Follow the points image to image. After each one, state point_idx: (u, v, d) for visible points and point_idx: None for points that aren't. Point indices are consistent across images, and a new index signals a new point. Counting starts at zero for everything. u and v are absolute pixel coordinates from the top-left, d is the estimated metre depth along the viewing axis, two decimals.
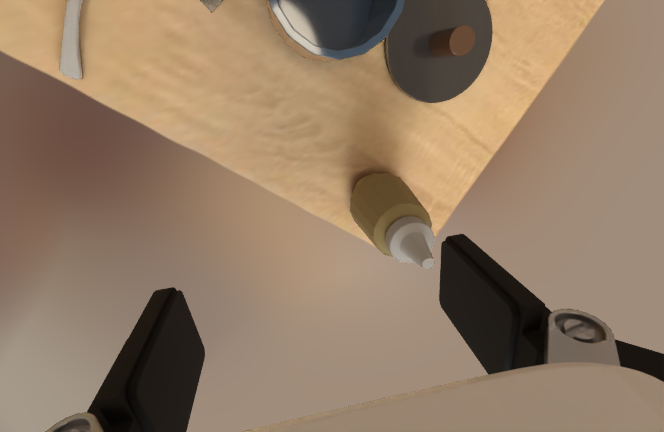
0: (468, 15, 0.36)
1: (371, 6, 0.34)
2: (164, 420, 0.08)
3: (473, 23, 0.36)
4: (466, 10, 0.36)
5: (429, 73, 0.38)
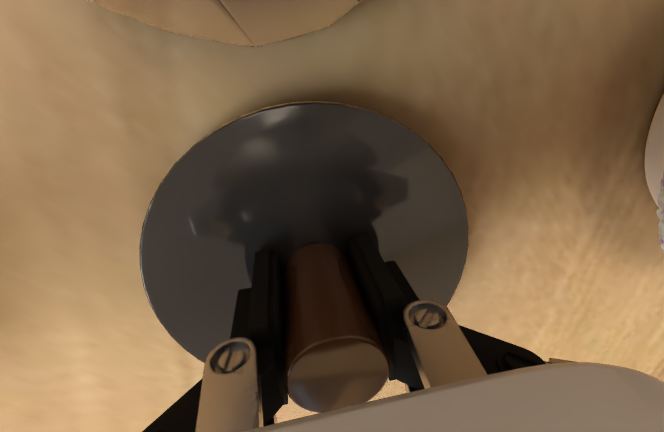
0: None
1: None
2: None
3: None
4: (413, 282, 0.14)
5: (235, 290, 0.12)
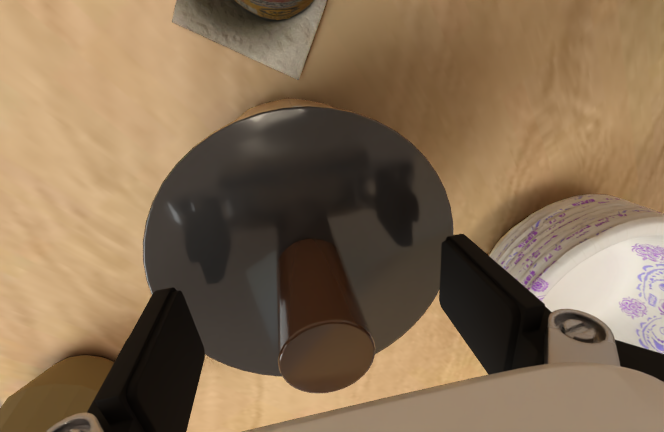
0: (395, 285, 0.15)
1: None
2: (164, 420, 0.08)
3: (385, 304, 0.15)
4: (402, 276, 0.14)
5: (233, 284, 0.13)
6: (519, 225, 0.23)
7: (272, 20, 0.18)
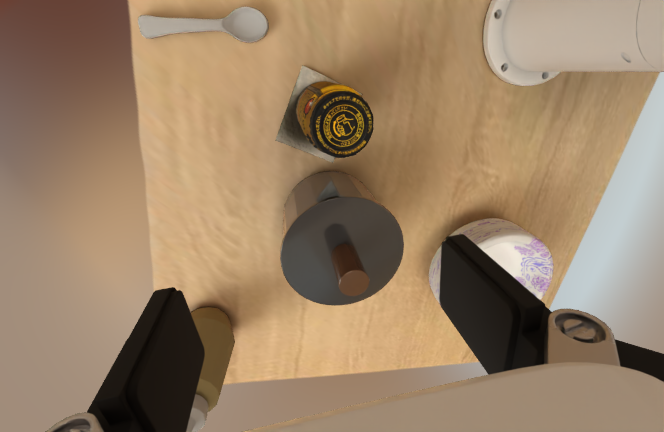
0: (379, 264, 0.34)
1: None
2: (164, 420, 0.08)
3: (375, 272, 0.34)
4: (382, 259, 0.33)
5: (312, 262, 0.32)
6: (451, 235, 0.42)
7: None
